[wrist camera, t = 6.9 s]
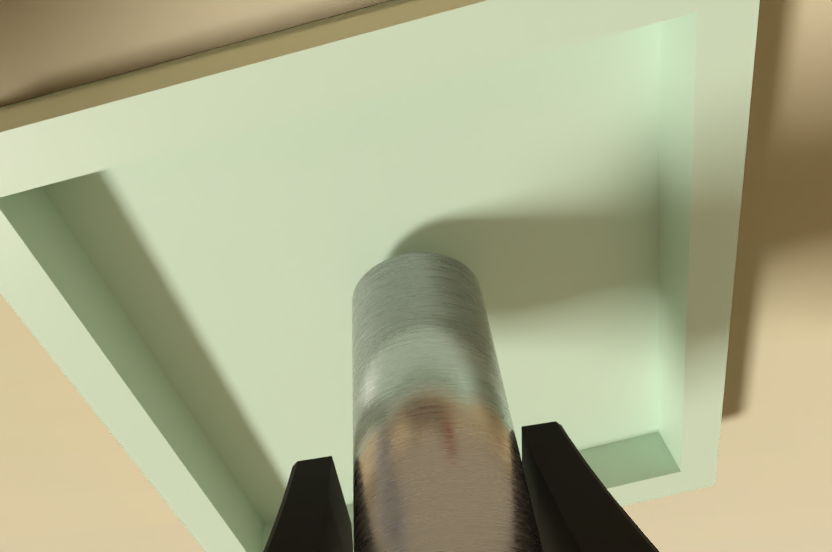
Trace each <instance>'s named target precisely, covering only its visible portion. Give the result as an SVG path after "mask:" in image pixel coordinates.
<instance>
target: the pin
mask: <svg viewBox="0 0 832 552" xmlns="http://www.w3.org/2000/svg"><path fill="white" fill-rule="evenodd" d="M352 389H353V526H354V552H543V549H542V545H541V541H540V537H539V533H538V528H537V524H536V520H535V516H534V511H533V507H532V503H531V499H530V494H529V490H528V486H527V482H526V478H525V473H524V469H523V465H522V461H521V456H520V452H519V448H518V444H517V439H516V435H515V431H514V427H513V423H512V418H511V414H510V410H509V406H508V401H507V397H506V393H505V389H504V384H503V380H502V376H501V372H500V368H499V363H498V359H497V355H496V351H495V346H494V342H493V338H492V334H491V329H490V325H489V321H488V317H487V313H486V308H485V304H484V300H483V296H482V291H481V287H480V284H479V281H478V280H477V278H476V276H475V275H474V273H473V272H472V271H471V270H470V269H469V268H468V267H467V266H465V265H464V264H462V263H461V262H459V261H457V260H455V259H453V258H450V257H448V256H445V255H440V254H435V253H421V252H419V253H409V254H403V255H399V256H395V257H392V258H390V259H387V260H385V261H383V262H381V263H379V264H377V265H376V266H374V267H373V268H371V269H370V270H369V271H368V272H367V273H366V274H365V275H364V276H363V277H362V278H361V279H360V281H359V282H358V284H357V285H356V287H355V290H354V292H353V297H352Z"/></svg>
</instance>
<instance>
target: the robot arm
mask: <svg viewBox="0 0 832 552" xmlns="http://www.w3.org/2000/svg"><path fill="white" fill-rule="evenodd" d="M521 430H522V465H523V469H524V473H525V478H526V482H527V486H528V490H529V494H530V499H531V503H532V507H533V511H534V516H535V520H536V524H537V528H538V533H539V537H540V541H541V545H542V549H543V552H659V551H658V549H657V548H656V547H655V546H654V545H653V544H652V543H651V542H650V540H649V539H648V538H647V537H646V536H645V535H644V533H643V532H642V531H641V530H640V529H639V527H638V526H637V525H636V524H635V523H634V521H633V520H632V519H631V518H630V517H629V515H628V514H627V513H626V512H625V511H624V510H623V508H622V507H621V506H620V505H619V504H618V502H617V501H616V500H615V499H614V497H613V496H612V495H611V493H610V492H609V491H608V490H607V488H606V487H605V486H604V485H603V483H602V482H601V481H600V479H599V478H598V477H597V475H596V474H595V473H594V471H593V470H592V469H591V467H590V466H589V465H588V463H587V462H586V461H585V459H584V458H583V456H582V455H581V454H580V452H579V451H578V449H577V448H576V446H575V445H574V443H573V442H572V441H571V439H570V438H569V436H568V435H567V433H566V432H565V430H564V428H563V427H562V425H561V424H559V423H557V422H556V421H554V422H548V423H541V424H535V425H528V426H522V427H521ZM263 552H353V537H352V524H351V520H350V517H349V513H348V510H347V506H346V503H345V499H344V496H343V493H342V489H341V486H340V482H339V479H338V475H337V472H336V468H335V465H334V461H333V458H332V456H328V457H321V458H315V459H308V460H302V461H297V462H296V463H295V464H294V465H293V466H292V470H291V474H290V477H289V480H288V484H287V487H286V490H285V493H284V496H283V499H282V502H281V505H280V508H279V511H278V514H277V517H276V519H275V522H274V525H273V527H272V530H271V533H270V535H269V538H268V541H267V543H266V546H265V548H264V551H263Z"/></svg>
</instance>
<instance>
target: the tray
mask: <svg viewBox="0 0 832 552" xmlns="http://www.w3.org/2000/svg"><path fill="white" fill-rule="evenodd" d="M759 4H760V0H392V1H388V2H384V3H381V4H377V5H373V6H370V7H366V8H362V9H359V10H355V11H351V12H348V13H344V14H340V15H337V16H333V17H329V18H326V19H322V20H318V21H315V22H311V23H307V24H304V25H300V26H296V27H293V28H289V29H286V30H282V31H278V32H275V33H271V34H267V35H264V36H260V37H256V38H253V39H249V40H245V41H242V42H238V43H234V44H231V45H227V46H223V47H220V48H216V49H212V50H209V51H205V52H201V53H198V54H194V55H190V56H187V57H183V58H179V59H176V60H172V61H168V62H165V63H161V64H157V65H154V66H150V67H146V68H143V69H139V70H135V71H132V72H128V73H124V74H121V75H117V76H114V77H110V78H106V79H103V80H99V81H95V82H92V83H88V84H84V85H81V86H77V87H73V88H70V89H66V90H62V91H59V92H55V93H51V94H48V95H44V96H40V97H37V98H33V99H29V100H26V101H22V102H18V103H15V104H11V105H7V106H4V107H0V294H1V295H2V296H3V297H4V299H5V300H6V301H7V302H8V304H9V305H10V306H11V308H12V309H13V310H14V311H15V313H16V314H17V315H18V316H19V318H20V319H21V320H22V321H23V323H24V324H25V325H26V326H27V328H28V329H29V330H30V332H31V333H32V334H33V335H34V337H35V338H36V339H37V340H38V342H39V343H40V344H41V345H42V347H43V348H44V349H45V350H46V352H47V353H48V354H49V356H50V357H51V358H52V359H53V361H54V362H55V363H56V364H57V366H58V367H59V368H60V369H61V371H62V372H63V373H64V374H65V376H66V377H67V378H68V379H69V381H70V382H71V383H72V385H73V386H74V387H75V388H76V390H77V391H78V392H79V393H80V395H81V396H82V397H83V398H84V400H85V401H86V402H87V403H88V405H89V406H90V407H91V409H92V410H93V411H94V412H95V414H96V415H97V416H98V417H99V419H100V420H101V421H102V422H103V424H104V425H105V426H106V427H107V429H108V430H109V431H110V433H111V434H112V435H113V436H114V438H115V439H116V440H117V441H118V443H119V444H120V445H121V446H122V448H123V449H124V450H125V451H126V453H127V454H128V455H129V457H130V458H131V459H132V460H133V462H134V463H135V464H136V465H137V467H138V468H139V469H140V470H141V472H142V473H143V474H144V475H145V477H146V478H147V479H148V481H149V482H150V483H151V484H152V486H153V487H154V488H155V489H156V491H157V492H158V493H159V494H160V496H161V497H162V498H163V499H164V501H165V502H166V503H167V505H168V506H169V507H170V508H171V510H172V511H173V512H174V513H175V515H176V516H177V517H178V518H179V520H180V521H181V522H182V523H183V525H184V526H185V527H186V529H187V530H188V531H189V532H190V534H191V535H192V536H193V537H194V539H195V540H196V541H197V542H198V544H199V545H200V546H201V547H202V549H203V550H204V551H205V552H263V551H264V548H265V546H266V543H267V541H268V538H269V535H270V533H271V530H272V527H273V525H274V522H275V519H276V517H277V514H278V511H279V508H280V505H281V502H282V499H283V496H284V493H285V490H286V487H287V484H288V480H289V477H290V474H291V470H292V466H293V465H294V464H295V463H296V462H297V461H302V460H308V459H315V458H321V457H328V456H332V458H333V461H334V465H335V468H336V472H337V475H338V479H339V482H340V486H341V489H342V493H343V496H344V499H345V503H346V506H347V510H348V513H349V517H350V520H351V524H352V537H353V552H354V526H353V389H352V297H353V292H354V290H355V287H356V285H357V284H358V282H359V281H360V279H361V278H362V277H363V276H364V275H365V274H366V273H367V272H368V271H369V270H370V269H371V268H373V267H374V266H376V265H377V264H379V263H381V262H383V261H385V260H387V259H390V258H392V257H395V256H399V255H403V254H409V253H419V252H421V253H435V254H440V255H445V256H448V257H450V258H453V259H455V260H457V261H459V262H461V263H462V264H464V265H465V266H467V267H468V268H469V269H470V270H471V271H472V272H473V273H474V275H475V276H476V278H477V280H478V281H479V284H480V287H481V291H482V296H483V300H484V304H485V308H486V313H487V317H488V321H489V325H490V329H491V334H492V338H493V342H494V346H495V351H496V355H497V359H498V363H499V368H500V372H501V376H502V380H503V384H504V389H505V393H506V397H507V401H508V406H509V410H510V414H511V418H512V423H513V427H514V431H515V435H516V439H517V444H518V448H519V452H520V456H521V461H522V430H521V427H522V426H528V425H535V424H541V423H548V422H554V421H556V422H557V423H559V424H561V425H562V427H563V428H564V430H565V432H566V433H567V435H568V436H569V438H570V439H571V441H572V442H573V443H574V445H575V446H576V448H577V449H578V451H579V452H580V454H581V455H582V456H583V458H584V459H585V461H586V462H587V463H588V465H589V466H590V467H591V469H592V470H593V471H594V473H595V474H596V475H597V477H598V478H599V479H600V481H601V482H602V483H603V485H604V486H605V487H606V488H607V490H608V491H609V492H610V493H611V495H612V496H613V497H614V499H615V500H616V501H617V502H618V504H619V505H620V506H621V507H622V506H627V505H631V504H635V503H640V502H644V501H649V500H653V499H657V498H662V497H666V496H670V495H675V494H679V493H683V492H688V491H692V490H697V489H701V488H705V487H710V486H714V485H715V484H716V473H717V462H718V451H719V440H720V429H721V418H722V407H723V396H724V386H725V375H726V364H727V353H728V342H729V331H730V320H731V309H732V298H733V287H734V276H735V266H736V255H737V244H738V233H739V222H740V211H741V200H742V189H743V178H744V167H745V156H746V146H747V135H748V124H749V113H750V102H751V91H752V80H753V69H754V58H755V47H756V36H757V26H758V15H759Z"/></svg>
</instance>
